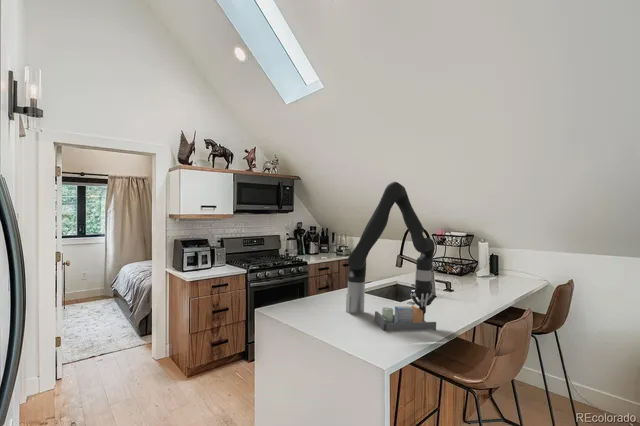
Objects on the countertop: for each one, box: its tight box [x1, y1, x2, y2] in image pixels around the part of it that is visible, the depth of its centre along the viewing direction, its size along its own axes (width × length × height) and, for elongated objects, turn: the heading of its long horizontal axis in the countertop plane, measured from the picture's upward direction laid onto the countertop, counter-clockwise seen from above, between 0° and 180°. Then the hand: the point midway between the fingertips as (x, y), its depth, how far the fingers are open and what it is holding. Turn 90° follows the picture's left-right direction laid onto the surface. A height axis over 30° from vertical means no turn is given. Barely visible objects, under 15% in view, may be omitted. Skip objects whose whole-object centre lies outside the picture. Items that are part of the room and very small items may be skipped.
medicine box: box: [394, 305, 414, 323], centre depth 158 cm, size 8×4×9 cm, turn 97°
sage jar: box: [381, 307, 394, 323], centre depth 157 cm, size 5×5×8 cm
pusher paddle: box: [410, 304, 423, 323], centre depth 159 cm, size 1×10×8 cm, turn 10°
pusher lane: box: [374, 310, 437, 332], centre depth 158 cm, size 26×12×6 cm, turn 100°
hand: (422, 313), depth 160 cm, fingers closed
